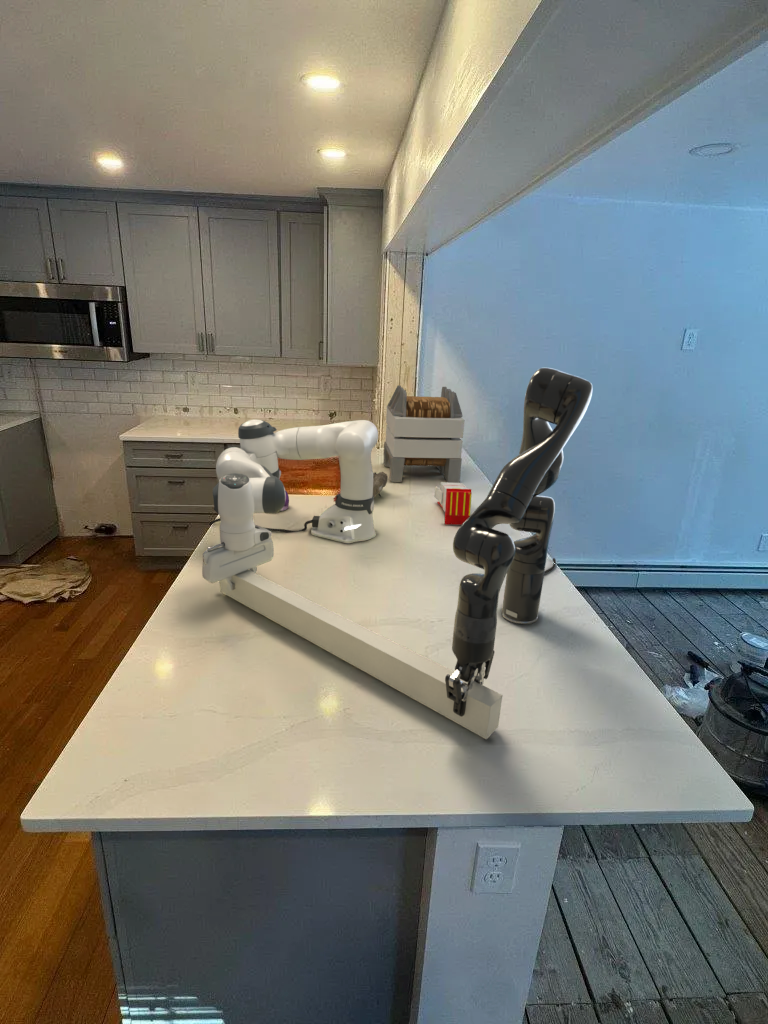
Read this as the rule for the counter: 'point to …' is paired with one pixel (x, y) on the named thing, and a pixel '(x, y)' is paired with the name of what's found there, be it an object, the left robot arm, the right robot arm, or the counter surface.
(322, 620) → the post
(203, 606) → the counter surface
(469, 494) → the toy
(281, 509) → the figurine
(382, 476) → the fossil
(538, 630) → the counter surface
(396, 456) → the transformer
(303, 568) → the counter surface
